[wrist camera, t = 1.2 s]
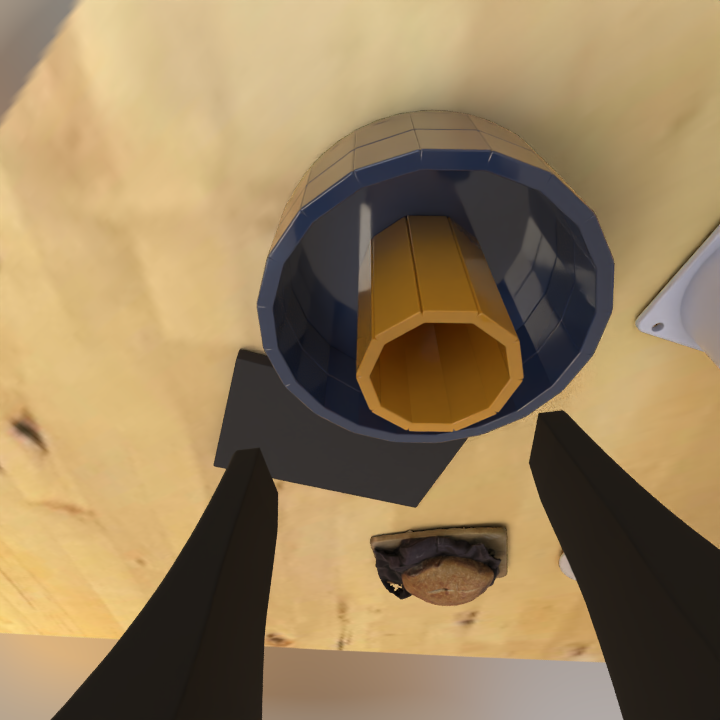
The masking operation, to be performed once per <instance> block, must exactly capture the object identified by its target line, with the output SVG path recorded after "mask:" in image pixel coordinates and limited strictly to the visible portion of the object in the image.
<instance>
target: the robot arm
mask: <svg viewBox="0 0 720 720" xmlns="http://www.w3.org/2000/svg"><path fill="white" fill-rule="evenodd" d="M657 323H659V324H658V325H657V326H654V325H655V324H657ZM635 325H636V327H637V328H638V329H639V330H640V331H641V332H644V333H647V334H650V335H653V336H656V337H659V338H663V339H666V340H669V341H672V342H675V343H678V344H681V345H684V346H688V347H691V348H694V349H697V350H700V351H703V352H705V353H706V354H707V355H708V357H709V358H710V359H711V360H712V361H713V362H714V363H715V364H716V366H717V367H718V368H719V369H720V224H719V226H718V227H717V228H716V229H715V230H714V231H713V232H712V234H711V235H710V236H709V237H708V238H707V239H706V240H705V242H704V243H703V244H702V245H701V246H700V247H699V248H698V250H697V251H696V252H695V253H694V254H693V255H692V256H691V257H690V259H689V260H688V261H687V262H686V263H685V264H684V265H683V267H682V268H681V269H680V270H679V271H678V272H677V273H676V275H675V276H674V277H673V278H672V279H671V280H670V281H669V282H668V284H667V285H666V286H665V287H664V288H663V289H662V290H661V292H660V293H659V294H658V295H657V296H656V297H655V298H654V300H653V301H652V302H651V303H650V304H649V305H648V306H647V307H646V309H645V310H644V311H643V312H642V313H641V314H640V315H639V317H638V318H637V319H636V321H635ZM653 326H654V327H653ZM529 464H530V468H531V471H532V474H533V478H534V481H535V484H536V487H537V490H538V493H539V497H540V500H541V502H542V504H543V507H544V509H545V511H546V514H547V516H548V518H549V520H550V523H551V525H552V527H553V529H554V532H555V534H556V536H557V538H558V540H559V543H560V545H561V547H562V549H563V552H564V554H565V556H566V558H567V560H568V563H569V565H570V567H571V569H572V571H573V574H574V576H575V578H576V580H577V583H578V585H579V587H580V590H581V592H582V595H583V597H584V600H585V602H586V605H587V608H588V611H589V614H590V617H591V620H592V623H593V626H594V628H595V631H596V634H597V637H598V640H599V643H600V646H601V649H602V652H603V655H604V659H605V662H606V664H607V668H608V671H609V674H610V677H611V680H612V683H613V686H614V690H615V693H616V696H617V700H618V703H619V706H620V710H621V713H622V716H623V719H624V720H720V549H718V548H717V547H715V546H714V545H713V544H712V543H710V542H709V541H708V540H706V539H705V538H704V537H702V536H701V535H700V534H698V533H697V532H696V531H694V530H693V529H692V528H691V527H689V526H688V525H687V524H685V523H684V522H683V521H682V520H681V519H679V518H678V517H677V516H676V515H674V514H673V513H672V512H671V511H670V510H668V509H667V508H666V507H665V506H664V505H663V504H661V503H660V502H659V501H658V500H657V499H655V498H654V497H653V496H652V495H651V494H650V493H649V492H647V491H646V490H645V489H644V488H643V487H642V486H641V485H639V484H638V483H637V482H636V481H635V480H634V479H633V478H632V477H631V476H630V475H629V474H628V473H627V472H625V471H624V470H623V469H622V468H621V467H620V466H619V465H618V464H617V463H616V462H615V461H614V460H613V459H612V458H611V457H609V456H608V455H607V454H606V453H605V452H604V451H603V450H602V449H601V448H600V447H599V446H598V445H597V444H596V443H595V442H594V441H593V440H592V439H591V438H590V437H589V436H588V435H587V434H586V433H585V432H584V431H583V430H582V429H581V428H580V427H579V426H578V425H577V423H576V422H575V421H574V420H573V419H572V418H571V417H570V416H569V415H568V414H567V413H566V412H564V411H563V410H562V411H553V412H545V413H539V414H538V419H537V425H536V430H535V435H534V440H533V445H532V450H531V455H530V460H529ZM277 528H278V492H277V489H276V487H275V484H274V482H273V479H272V477H271V474H270V472H269V469H268V467H267V465H266V462H265V460H264V457H263V455H262V452H261V450H260V448H252V449H243V450H236V452H235V453H234V454H233V456H232V458H231V460H230V462H229V464H228V466H227V469H226V471H225V473H224V475H223V477H222V479H221V481H220V483H219V485H218V487H217V489H216V491H215V493H214V494H213V496H212V498H211V500H210V502H209V504H208V506H207V508H206V509H205V511H204V513H203V515H202V517H201V518H200V520H199V522H198V524H197V526H196V527H195V529H194V531H193V533H192V534H191V536H190V538H189V539H188V541H187V543H186V544H185V546H184V548H183V549H182V551H181V552H180V554H179V556H178V557H177V559H176V561H175V562H174V564H173V565H172V567H171V569H170V570H169V572H168V573H167V575H166V576H165V578H164V579H163V581H162V582H161V584H160V585H159V587H158V588H157V590H156V591H155V592H154V594H153V595H152V597H151V598H150V599H149V601H148V602H147V604H146V605H145V607H144V608H143V609H142V611H141V612H140V613H139V615H138V616H137V617H136V619H135V620H134V621H133V623H132V624H131V625H130V626H129V628H128V629H127V630H126V632H125V633H124V634H123V636H122V637H121V638H120V640H119V641H118V642H117V643H116V645H115V646H114V647H113V649H112V650H111V651H110V652H109V653H108V655H107V656H106V657H105V658H104V660H103V661H102V662H101V663H100V664H99V665H98V667H97V668H96V669H95V670H94V671H93V672H92V674H91V675H90V676H89V677H88V678H87V679H86V680H85V682H84V683H83V684H82V685H81V686H80V687H79V689H78V690H77V691H76V692H75V693H74V694H73V696H72V697H71V698H70V699H69V700H68V701H67V702H66V704H65V705H64V706H63V707H62V708H61V709H60V710H59V711H58V712H57V713H56V715H55V716H54V717H53V718H52V719H51V720H262V692H263V661H264V638H265V626H266V616H267V608H268V601H269V593H270V586H271V578H272V570H273V563H274V555H275V547H276V539H277Z"/></svg>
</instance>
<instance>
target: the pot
mask: <svg viewBox="0 0 720 720" xmlns="http://www.w3.org/2000/svg"><path fill="white" fill-rule="evenodd" d="M407 216H447V218H448V217H450V218H451V219H453V220H454V221H455V222H456V223H458V224H459V225H460V226H461V227H463V228H464V229H465V230H466V231H468V232H469V233H470V234H471V235H473V236H474V237H475V238H476V239H477V241H478V242H479V244H480V247H481V249H482V252H483V254H484V256H485V259H486V261H487V264H488V266H489V268H490V271H491V273H492V276H493V278H494V281H495V283H496V285H497V288H498V290H499V293H500V295H501V297H502V300H503V302H504V305H505V307H506V309H507V312H508V314H509V317H510V319H511V321H512V324H513V326H514V329H515V331H516V334H517V336H518V338H519V341H520V348H521V357H522V365H523V374H524V378H523V381H522V382H521V384H520V385H519V386H518V388H517V389H516V390H515V392H514V393H513V394H512V396H511V397H510V398H509V399H508V401H507V402H506V403H505V405H504V406H503V407H502V409H501V410H500V411H499V412H496V414H495V415H493V416H491V417H488V418H486V419H484V420H481V421H479V422H476V423H474V424H472V425H469V426H467V427H465V428H462V429H460V430H458V431H455V430H453V432H435V431H409V429H408V430H405V429H403V428H401V427H399V426H397V425H395V424H393V423H391V422H390V421H388V420H386V419H384V418H382V417H380V416H378V415H376V414H375V413H373V412H372V410H370V409H369V407H368V405H367V402H366V400H365V398H364V395H363V393H362V391H361V388H360V386H359V384H358V381H357V379H356V361H357V325H358V289H359V269H360V267H361V264H362V261H363V259H364V256H365V253H366V251H367V248H368V245H369V243H370V240H371V239H373V237H374V236H375V235H377V234H378V233H380V232H381V231H383V230H385V229H386V228H388V227H389V226H391V225H392V224H394V223H395V222H397V221H398V220H400V219H401V218H403V217H406V218H407ZM614 264H615V263H614V259H613V256H612V254H611V251H610V249H609V246H608V244H607V241H606V239H605V236H604V234H603V231H602V229H601V226H600V224H599V221H598V219H597V216H596V214H595V213H594V211H593V210H592V209H591V208H590V207H589V206H588V205H587V204H586V203H585V202H584V201H583V200H582V199H581V198H580V197H579V196H578V195H577V194H576V192H575V191H574V190H573V189H572V188H571V187H570V186H569V185H568V184H567V183H566V182H565V181H564V180H563V179H562V178H561V177H560V176H559V175H558V174H557V172H556V171H555V170H554V169H553V168H552V167H551V166H550V165H549V164H548V163H547V162H545V161H544V160H543V159H542V158H541V157H540V156H539V155H538V154H537V153H536V152H535V151H534V150H533V149H532V148H531V147H530V146H529V145H528V144H527V143H526V142H525V141H524V140H523V139H522V138H520V137H519V136H518V135H517V134H515V133H513V132H511V131H509V130H508V129H506V128H503V127H501V126H499V125H497V124H495V123H493V122H491V121H489V120H486V119H483V118H480V117H477V116H473V115H470V114H466V113H459V112H452V111H446V110H422V111H415V112H408V113H401V114H397V115H394V116H390V117H387V118H383V119H380V120H377V121H375V122H372V123H370V124H368V125H366V126H364V127H361V128H359V129H357V130H355V131H354V132H352V133H351V134H349V135H347V136H346V137H344V138H343V139H341V140H339V141H338V142H337V143H335V144H334V145H333V146H332V147H331V148H329V149H328V150H327V151H326V152H325V153H324V154H322V155H321V156H320V157H319V158H318V160H317V161H316V162H315V163H314V164H313V165H312V166H311V167H310V168H309V170H308V171H307V172H306V173H305V175H304V176H303V178H302V179H301V181H300V182H299V184H298V185H297V187H296V189H295V191H294V193H293V195H292V197H291V198H290V200H289V201H288V203H287V204H286V206H285V209H284V211H283V214H282V217H281V220H280V223H279V226H278V228H277V231H276V234H275V237H274V240H273V243H272V245H271V248H270V251H269V254H268V257H267V260H266V265H265V269H264V274H263V278H262V282H261V287H260V291H259V295H258V300H257V312H258V318H259V325H260V331H261V337H262V344H263V348H264V351H265V353H266V355H267V356H268V358H269V360H270V362H271V363H272V365H273V367H274V369H275V370H276V372H277V374H278V376H279V377H280V379H281V381H282V383H283V384H284V385H285V387H286V388H287V389H288V390H289V391H290V392H291V393H292V394H294V395H295V396H296V397H297V398H298V399H299V400H300V401H301V402H302V403H304V404H305V405H306V406H307V407H308V408H309V409H310V410H311V411H312V412H313V413H316V415H318V416H320V417H322V418H324V419H326V420H328V421H330V422H332V423H334V424H336V425H338V426H340V427H342V428H344V429H346V430H348V431H350V432H353V433H356V434H361V435H365V436H369V437H373V438H378V439H382V440H386V441H391V442H394V441H395V442H403V443H441V442H446V441H452V440H457V439H462V438H468V437H473V436H478V435H481V434H485V433H488V432H490V431H493V430H495V429H497V428H500V427H502V426H505V425H507V424H510V423H512V422H514V421H517V420H519V419H522V418H524V417H526V416H528V415H529V414H530V413H532V412H533V411H535V410H536V409H538V408H539V407H540V406H542V405H543V404H545V403H546V402H548V401H549V400H550V399H552V398H553V397H555V396H556V395H558V394H559V393H560V392H562V390H564V389H565V388H566V386H567V385H568V384H569V383H570V382H571V381H572V379H573V378H574V377H575V376H576V375H577V374H578V373H579V371H580V370H581V369H582V368H583V367H584V366H585V364H586V363H587V362H588V361H589V360H590V359H591V357H592V356H593V354H594V353H595V350H596V348H597V346H598V343H599V341H600V339H601V337H602V334H603V332H604V330H605V327H606V325H607V323H608V320H609V318H610V316H611V314H612V310H613V287H614Z"/></svg>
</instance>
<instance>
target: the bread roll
mask: <svg viewBox="0 0 720 720" xmlns="http://www.w3.org/2000/svg"><path fill="white" fill-rule="evenodd" d="M506 530H507V529H506V528H505V527H503V528H500V527H499V528H497V527H495V528H493V527H492V528H490V527H487V528H484V527H475V528H473V529H472V527H471V528H467V529H465V527H463V529H461V528H457V529H456V528H455V527H454V528H450V529H448V530H445V529H440V528H439V529H436V530H425V531H424V532H423V531H416V532H412V531H411V530H409V531H407V533H402V534H400V533H398V534H395V535H390V534H389V535H384V534H383V535H382V536H377V537H371V539H370V544H371V547H372V550H373V552H374V557H375V558H376V567H377V571H378V575H379V577H380V579H381V581H382V583H383V585H384V586H385V588H386V589H387V590H388V591H389V592H390V593H393V594H395V595H396V596H397V597H399V598H400V599H405V598H408V597H410V596H411V595H414V596H416V597H418V598H420V599H422V600H424V601H426V602H428V603H431V604H435V605H441V606H453V605H460V604H464V603H467V602H470V601H472V600H474V599H475V598H477V597H478V596H479V595H481V594H482V593H484V592H485V591H486V590H487V588H488V587H489V586H491V585H493V583H494V580H495V579H496V578H501V577H504V576H506V575H507V534H506ZM390 583H393V584H394V585H395V584H398V585H399V586H401V584H402V588H398V587H397V588H398V589H397V590H396V591H394V589H395V588H394V587H393V585H392V586H390Z"/></svg>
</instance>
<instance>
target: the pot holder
mask: <svg viewBox="0 0 720 720" xmlns="http://www.w3.org/2000/svg"><path fill="white" fill-rule="evenodd" d="M466 440H467V438H462V439H457V440H452V441H446V442H441V443H403V442H395V441H394V442H391V441H386V440H382V439H378V438H373V437H369V436H365V435H361V434H356V433H353V432H350V431H348V430H346V429H344V428H342V427H340V426H338V425H336V424H334V423H332V422H330V421H328V420H326V419H324V418H322V417H320V416H318V415H316V413H313V412H312V411H311V410H310V409H309V408H308V407H307V406H306V405H305V404H304V403H302V402H301V401H300V400H299V399H298V398H297V397H296V396H295V395H294V394H292V393H291V392H290V391H289V390H288V389H287V388H286V387H285V385H284V384H283V383H282V381H281V379H280V377H279V376H278V374H277V372H276V370H275V369H274V367H273V365H272V363H271V362H270V360H269V358H268V356H265V355H261V354H257V353H253V352H249V351H245V350H241V349H240V350H239V353H238V356H237V359H236V363H235V368H234V373H233V377H232V382H231V387H230V391H229V396H228V400H227V405H226V410H225V414H224V419H223V424H222V428H221V433H220V438H219V442H218V447H217V452H216V456H215V461H214V466H215V467H220V468H225V469H227V466H228V464H229V462H230V460H231V458H232V456H233V454H234V453H235V452H236V450H243V449H252V448H260V450H261V452H262V455H263V457H264V460H265V462H266V465H267V467H268V469H269V472H270V474H271V477H272V478H274V479H278V480H283V481H288V482H293V483H298V484H303V485H308V486H313V487H317V488H322V489H327V490H332V491H337V492H342V493H347V494H352V495H356V496H361V497H366V498H371V499H376V500H381V501H386V502H390V503H395V504H400V505H405V506H410V507H415V508H416V507H417V506H418V504H419V503H420V502H421V500H422V499H423V498H424V496H425V495H426V493H427V492H428V491H429V489H430V488H431V487H432V485H433V484H434V483H435V481H436V480H437V479H438V477H439V476H440V475H441V473H442V472H443V471H444V469H445V468H446V467H447V465H448V464H449V463H450V461H451V460H452V459H453V457H454V456H455V455H456V453H457V452H458V450H459V449H460V448H461V446H462V445H463V444H464V442H465V441H466Z"/></svg>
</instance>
